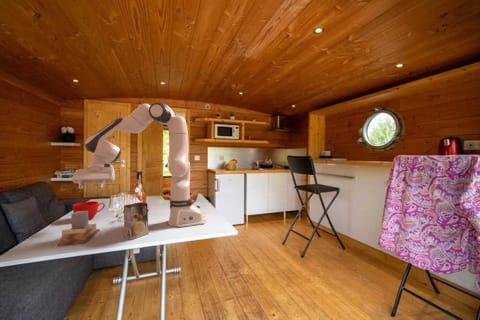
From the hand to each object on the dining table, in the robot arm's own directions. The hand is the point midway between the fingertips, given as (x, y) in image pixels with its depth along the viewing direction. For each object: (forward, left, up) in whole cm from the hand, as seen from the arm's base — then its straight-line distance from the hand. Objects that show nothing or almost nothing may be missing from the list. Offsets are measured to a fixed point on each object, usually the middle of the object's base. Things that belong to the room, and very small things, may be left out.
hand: (90, 187), depth 114 cm
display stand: (0, +12, -23) cm, 26 cm away
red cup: (+9, -22, -23) cm, 33 cm away
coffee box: (-26, +16, -23) cm, 38 cm away
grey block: (0, +12, -18) cm, 22 cm away
